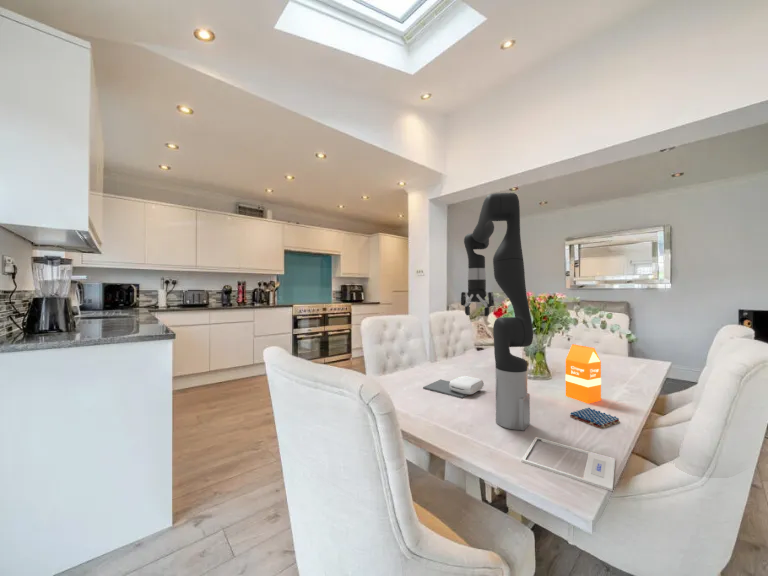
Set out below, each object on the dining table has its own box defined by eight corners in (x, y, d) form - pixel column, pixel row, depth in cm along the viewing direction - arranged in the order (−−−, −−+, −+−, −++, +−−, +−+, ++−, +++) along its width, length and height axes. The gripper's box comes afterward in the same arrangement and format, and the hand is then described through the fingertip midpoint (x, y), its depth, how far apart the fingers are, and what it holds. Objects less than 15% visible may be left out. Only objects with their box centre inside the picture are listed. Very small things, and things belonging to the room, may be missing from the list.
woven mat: (567, 418, 102) (567, 412, 102) (587, 412, 107) (587, 406, 107) (601, 431, 93) (601, 424, 93) (621, 424, 97) (621, 417, 97)
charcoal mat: (477, 389, 130) (477, 387, 130) (462, 398, 119) (462, 396, 119) (440, 380, 142) (440, 379, 142) (423, 388, 131) (423, 387, 131)
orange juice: (588, 403, 113) (587, 348, 113) (565, 396, 121) (565, 344, 121) (601, 400, 116) (601, 347, 116) (578, 393, 124) (578, 343, 124)
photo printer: (484, 378, 128) (470, 386, 119) (484, 389, 128) (470, 397, 119) (461, 374, 135) (446, 380, 125) (461, 384, 135) (446, 391, 126)
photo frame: (612, 488, 65) (521, 458, 76) (612, 493, 65) (521, 463, 76) (615, 457, 76) (535, 436, 88) (615, 462, 76) (535, 440, 88)
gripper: (496, 278, 134) (496, 316, 134) (465, 279, 143) (465, 314, 144) (489, 278, 128) (489, 317, 129) (457, 279, 138) (458, 315, 138)
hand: (476, 315), depth 136 cm, fingers open, 8 cm apart
